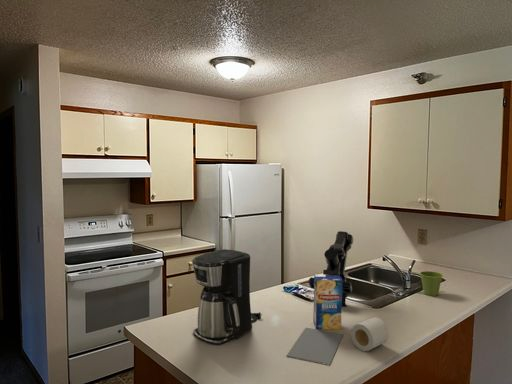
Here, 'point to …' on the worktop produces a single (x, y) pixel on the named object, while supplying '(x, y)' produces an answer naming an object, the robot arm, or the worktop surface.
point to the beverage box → (327, 301)
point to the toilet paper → (369, 334)
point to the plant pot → (431, 282)
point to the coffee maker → (223, 296)
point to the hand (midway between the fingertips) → (327, 302)
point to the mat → (316, 345)
